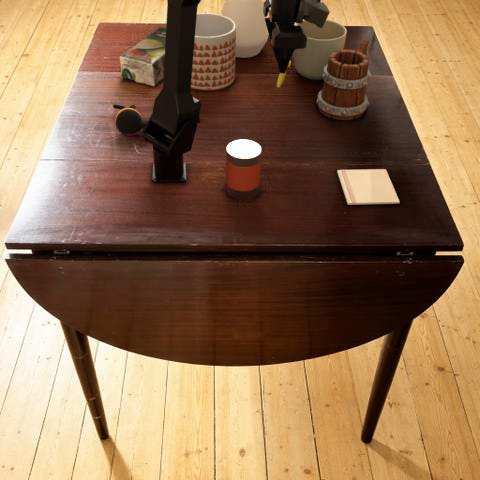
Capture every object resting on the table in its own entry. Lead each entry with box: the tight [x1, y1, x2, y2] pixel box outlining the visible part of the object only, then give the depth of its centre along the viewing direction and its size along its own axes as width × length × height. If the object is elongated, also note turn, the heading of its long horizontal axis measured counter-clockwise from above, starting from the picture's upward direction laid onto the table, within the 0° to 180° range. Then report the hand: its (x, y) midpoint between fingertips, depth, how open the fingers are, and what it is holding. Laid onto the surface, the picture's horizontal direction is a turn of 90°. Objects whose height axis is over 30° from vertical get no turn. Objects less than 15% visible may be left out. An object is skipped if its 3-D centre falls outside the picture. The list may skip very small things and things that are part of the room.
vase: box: [191, 12, 236, 92], centre depth 144 cm, size 14×14×13 cm
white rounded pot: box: [220, 0, 269, 59], centre depth 155 cm, size 13×13×14 cm
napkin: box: [336, 168, 400, 206], centre depth 119 cm, size 11×10×1 cm
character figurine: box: [112, 103, 148, 137], centre depth 132 cm, size 10×6×12 cm
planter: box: [292, 19, 348, 81], centre depth 148 cm, size 12×12×11 cm
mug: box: [316, 38, 372, 121], centre depth 136 cm, size 12×14×15 cm
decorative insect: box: [275, 60, 292, 89], centre depth 128 cm, size 13×3×10 cm
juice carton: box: [119, 26, 166, 87], centre depth 149 cm, size 20×10×6 cm, turn 156°
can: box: [225, 139, 262, 201], centre depth 114 cm, size 6×6×9 cm
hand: (280, 65), depth 126 cm, fingers closed on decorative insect, 6 cm apart
